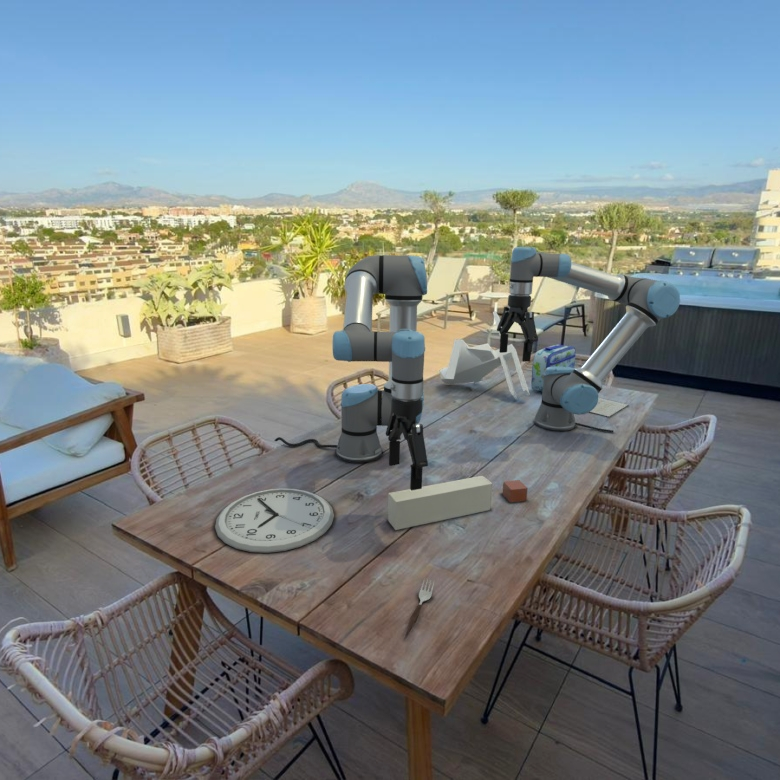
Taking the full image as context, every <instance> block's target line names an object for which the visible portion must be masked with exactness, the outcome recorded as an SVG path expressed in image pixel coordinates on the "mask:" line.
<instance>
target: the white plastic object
mask: <svg viewBox="0 0 780 780" xmlns="http://www.w3.org/2000/svg"><path fill="white" fill-rule="evenodd" d="M492 315H493V319H494V321H495V324H496V325H495V326H496V328H497V327H498V325H499V322H500V320H501V317H500V315H499V314H498V312H497V311H496V310H495V311H492ZM501 328H502V327H501ZM498 335H499V336H500V332H499V331H498ZM499 351H500V348H498V349H496V350H495V349H493V348H492V347H491V346H490V344H489V343H488V342H487V343H483V344H479V345H473V346H469V345H468V343H466V342H465V340H464V339H463V338H460V339H458V338H454V340H453V344H452V349H451V353H450V357H449V362H448V366H446V367H444V368H442V369H440V370H439V371H438V372H439V376H440V381H442V383H443V384H444V385H445V386H449V385H458V384H467V383H468V384H469V383H473V384H477V383H480V382H482V381H484V378H485V377H486V376H487V375H489V374H490V373H492V372H494V371H495V370H496V369H497V368H499V367H500V366H502V370H503V373H504V376H505V380H506V383H507V386H508V390H509V393H510V394H511V395H512V397H513V398H514V399H515V400H517V392H516V391H517V390H516V388H515V385H514V381H513V378H512V375H511V371H510V369H509V365H508V361H510V360H513V363H514V366H515V369H516V372H517V376H518V380H519V382H520V385H521V389H522V391H523V393H524V395H525V396H526V397H528V396H531V395H530V390H529V388H528V387H529V386H528V384H527V381H526V378H525V375H524V371H523V369H522V368H523V367H522V366H521V362H520V359H519V355H518V352H517V349H516V347H515V346H514V345H513V343H511V344H508V346H507V352H504V353H500V352H499Z"/></svg>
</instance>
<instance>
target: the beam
mask: <svg viewBox="0 0 780 780" xmlns="http://www.w3.org/2000/svg"><path fill="white" fill-rule="evenodd" d="M492 493H493V483H492V482H491V481H490V480H489V479H487V477H485V476H484V475H478V476H473V477H467V478H462V479H457V480H452V481H446V482H439V483H434V484H429V485H424V486H422V489H417V490H412V491H411V489H410V488H408V489H403V490H397V491H392V492H388V497H387V498H388V502H387V503H388V505H387V506H388V507H387V521H388V522H389V524H390V526H392V528H393V529H394V530H395V531H397V530H403V529H408V528H413V527H417V526H421V525H426V524H432V523H437V522H440V521H444V520H450V519H454V518H459V517H465V516H470V515H473V514H477V513H478V514H479V513H482V512H487V511H490V510H491V507H492V495H493V494H492Z"/></svg>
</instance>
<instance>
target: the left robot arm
mask: <svg viewBox="0 0 780 780" xmlns="http://www.w3.org/2000/svg"><path fill="white" fill-rule="evenodd" d="M344 291H345V293H346V299H345V307H344V315H343V322H342V330H336V331H334V333H333V334H332V356H333V357H332V358H333V359H334V360H336V361H337V362H348V363H351V362H377V363H378V362H379V363H382V362H383V363H388V379H387V381H386V382H385V383H384V384H383V389H378V387H377V385H375V384H370V383H362V384H355V385H351V386H349V387H347V388H345V389H344V390H343V391H342V393H341V397H340V398H341V399H340V407H341V408H340V409H341V410H340V411H341V415H340V416H341V419H340V420H341V421H340V422H341V433H340V435H339V439H338V442H337V444H320V442H319V441H318V440H317V439H315V438H308V439H304V440H303V441H300V442H296V443H291V442H288V441H287V440H285V439H284V438H283V437H281V436H279V437H276V438H275V439H274V442H278V441H281V442H282V443H283V444H284V445H285V446H289V447H299V446H301V445H304V444H306V443H311V442H313V443H315V444H316V446H317V447H318V448H321V449H322V448H323V449H324V448H326V449H327V448H328V449H329V448H333V449H335V448H336V449H335V453H336V457H337V458H338V459H339V460H341V461H344V462H348V463H351V464H352V463H353V464H364V463H370V462H374V461H376V460H378V459H380V458H381V456H382V455H383V453H382V452H383V447H382V445H381V442H380V438H379V435H378V426H379V427H381V426H382V427H386V430H385V436H386V437H387V439H388V441H389V443H388V466H389V467H391V466H393V467H394V466H398V465H400V463H401V461H400V459H401V441H400V440H401V436H403V438H404V440H406V442H407V446H408V450H409V453H410V454H409V455H410V458H411V462H412V464H410V483H409V489H411V491H412V490H417V489H422V487H423V471H424V470H423V468H425V467H428V466H429V462H428V456H427V450H426V443H425V437H424V425H423V424H422V423H420V422H421V419H422V416H423V409H424V400H425V393H424V369H425V368H424V366H425V352H426V343H425V340H426V338H425V335H424V334H423V333H422V332H419V331H417V327H418V325H417V324H418V319H417V318H418V305H420V304H421V302H423V296H426V295H427V294H428V279H427V269H426V264H425V261H424V259H423V258H422V257H421V256H419V255H417V256H416V255H410V254H408V255H379V254H373V255H369V256H367V257H364V258H362V259H360V260H358V261H357V262H356V263H355V264H353V266H351V268H350V269H349V270H348V272H347V274H346V276H345V279H344ZM376 294H378V295H384V300H385V302H386V303H387V304H388V306H389V331H373V330H372V327H373V307H374V305H373V304H374V295H376Z"/></svg>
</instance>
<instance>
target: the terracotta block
mask: <svg viewBox="0 0 780 780" xmlns="http://www.w3.org/2000/svg"><path fill="white" fill-rule="evenodd" d="M502 483H503V484H502V495H503V497H504V498H505V499H506V500H507V501H508V502H509V503H519V502H526V501H527V499H528V486H526V485H525V484H524V483H523V482H522V481H521V480H520V479H516V480H506V481H503V482H502Z"/></svg>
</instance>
